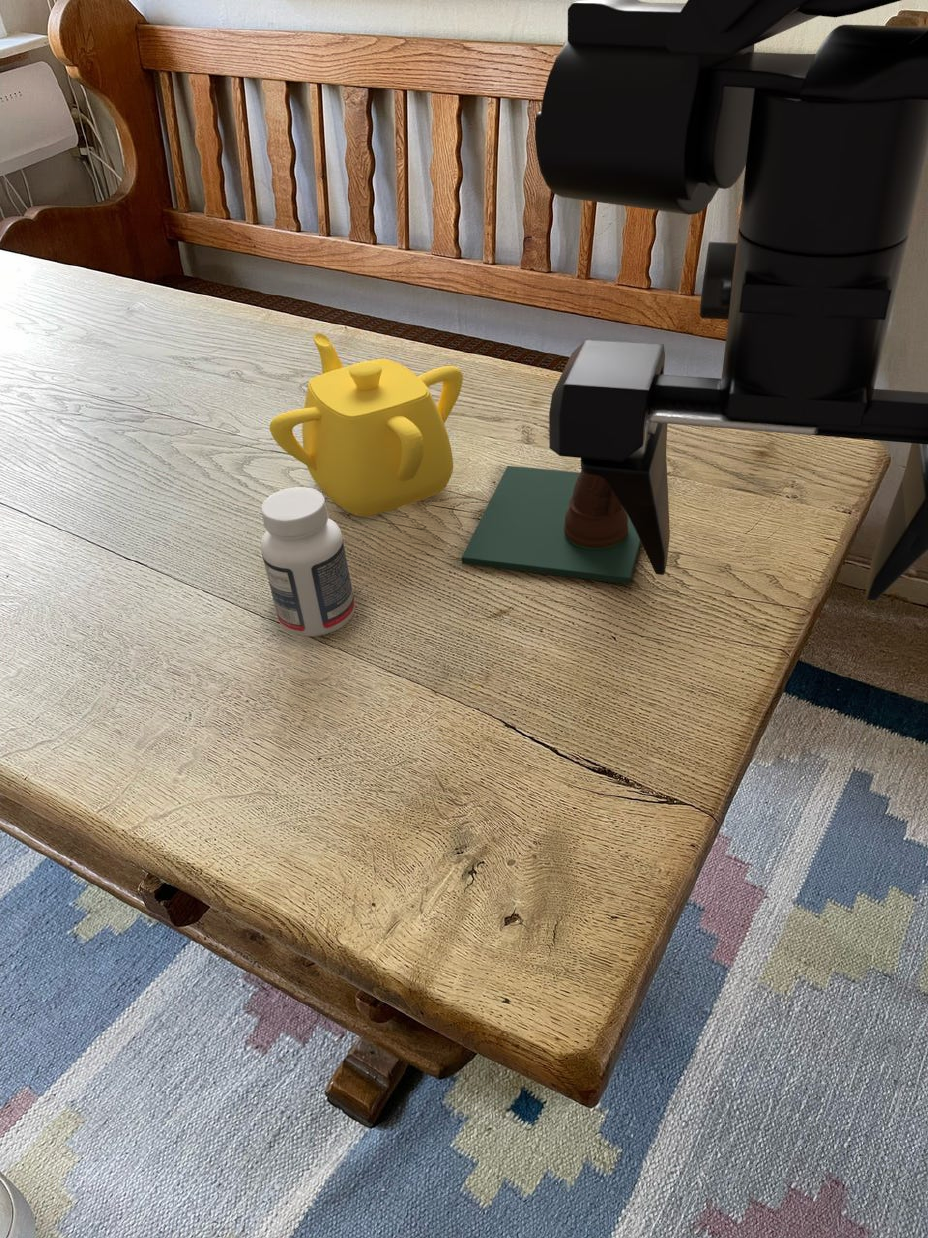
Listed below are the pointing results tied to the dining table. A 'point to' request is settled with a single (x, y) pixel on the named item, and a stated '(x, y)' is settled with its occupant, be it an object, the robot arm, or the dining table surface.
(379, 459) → the teapot
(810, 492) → the dining table surface
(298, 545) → the pill bottle
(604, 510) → the chess piece
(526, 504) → the play mat
